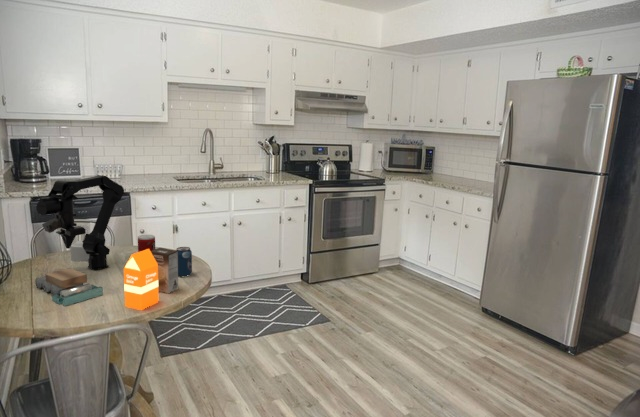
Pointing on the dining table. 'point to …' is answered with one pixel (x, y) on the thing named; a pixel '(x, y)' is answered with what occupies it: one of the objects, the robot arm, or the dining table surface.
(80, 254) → the lumpy-topped squat cylinder
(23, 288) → the dining table surface
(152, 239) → the canned food
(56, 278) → the slab
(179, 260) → the soda can
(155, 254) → the coffee box
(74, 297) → the roller bed
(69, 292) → the roller
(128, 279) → the orange juice
